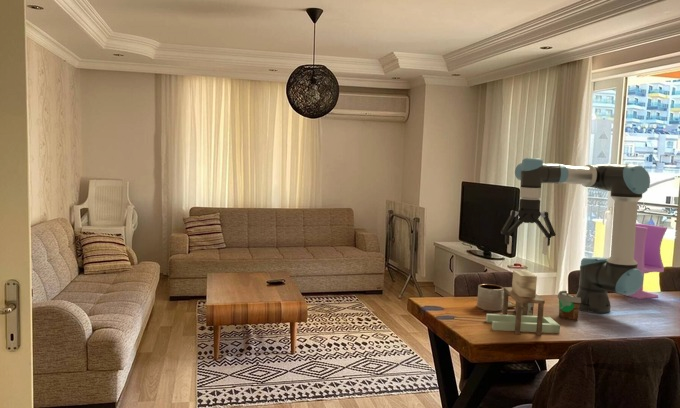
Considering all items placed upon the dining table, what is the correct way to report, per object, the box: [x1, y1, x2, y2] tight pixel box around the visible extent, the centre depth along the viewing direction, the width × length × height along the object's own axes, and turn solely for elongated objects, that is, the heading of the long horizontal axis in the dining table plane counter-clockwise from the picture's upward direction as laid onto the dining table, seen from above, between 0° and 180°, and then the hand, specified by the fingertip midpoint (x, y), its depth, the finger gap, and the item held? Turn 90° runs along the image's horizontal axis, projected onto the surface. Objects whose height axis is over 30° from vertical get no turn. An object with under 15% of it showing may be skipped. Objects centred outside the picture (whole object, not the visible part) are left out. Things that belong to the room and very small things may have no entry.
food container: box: [556, 290, 581, 322], centre depth 225 cm, size 12×6×10 cm, turn 5°
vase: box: [614, 222, 668, 300], centre depth 269 cm, size 16×16×35 cm
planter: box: [476, 283, 504, 312], centre depth 235 cm, size 11×11×10 cm
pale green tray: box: [485, 313, 561, 334], centre depth 210 cm, size 25×12×3 cm, turn 88°
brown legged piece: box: [502, 286, 545, 336], centre depth 210 cm, size 10×19×13 cm, turn 178°
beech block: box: [511, 269, 538, 297], centre depth 209 cm, size 6×10×8 cm, turn 178°
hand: (526, 253), depth 208 cm, fingers open, 13 cm apart
